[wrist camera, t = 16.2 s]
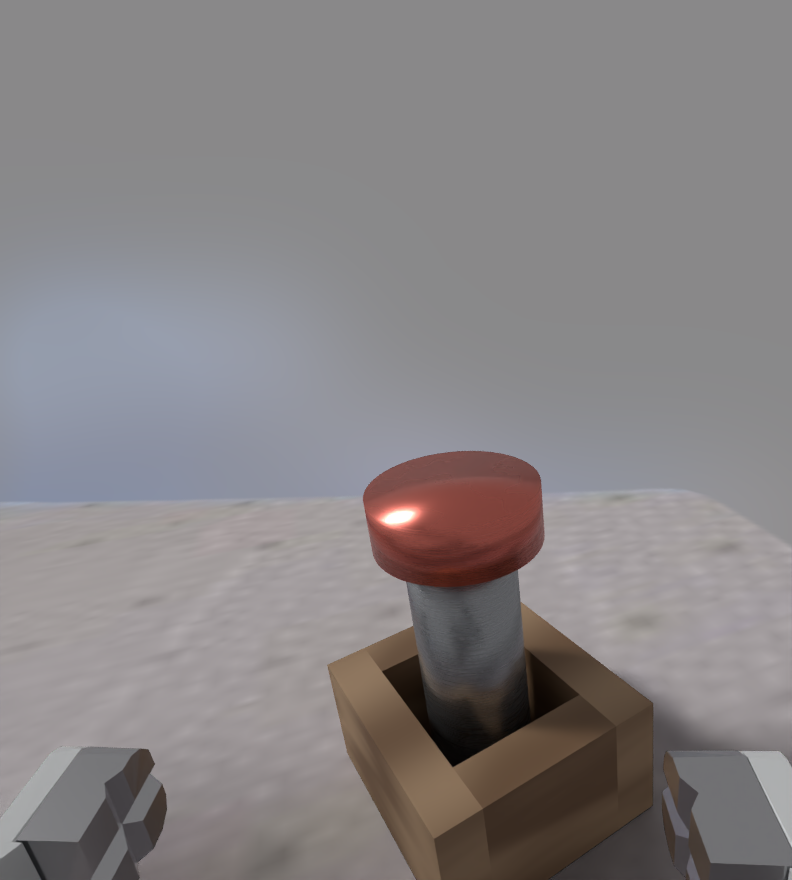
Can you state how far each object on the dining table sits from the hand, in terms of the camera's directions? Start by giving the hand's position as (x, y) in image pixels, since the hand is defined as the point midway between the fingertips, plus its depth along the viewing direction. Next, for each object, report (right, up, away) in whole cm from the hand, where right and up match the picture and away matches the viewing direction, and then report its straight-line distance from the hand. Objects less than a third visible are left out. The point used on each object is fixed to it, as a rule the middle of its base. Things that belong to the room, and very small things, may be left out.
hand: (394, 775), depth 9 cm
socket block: (+4, -9, +16) cm, 18 cm away
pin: (+4, -9, +16) cm, 18 cm away
